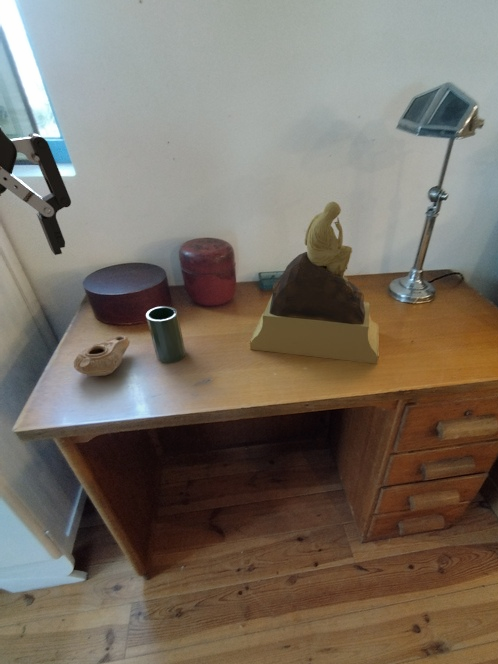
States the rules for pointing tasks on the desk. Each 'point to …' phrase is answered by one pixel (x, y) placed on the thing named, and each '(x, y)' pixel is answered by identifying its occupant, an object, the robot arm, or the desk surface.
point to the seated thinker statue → (319, 302)
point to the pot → (166, 334)
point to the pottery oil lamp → (102, 357)
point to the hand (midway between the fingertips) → (11, 261)
